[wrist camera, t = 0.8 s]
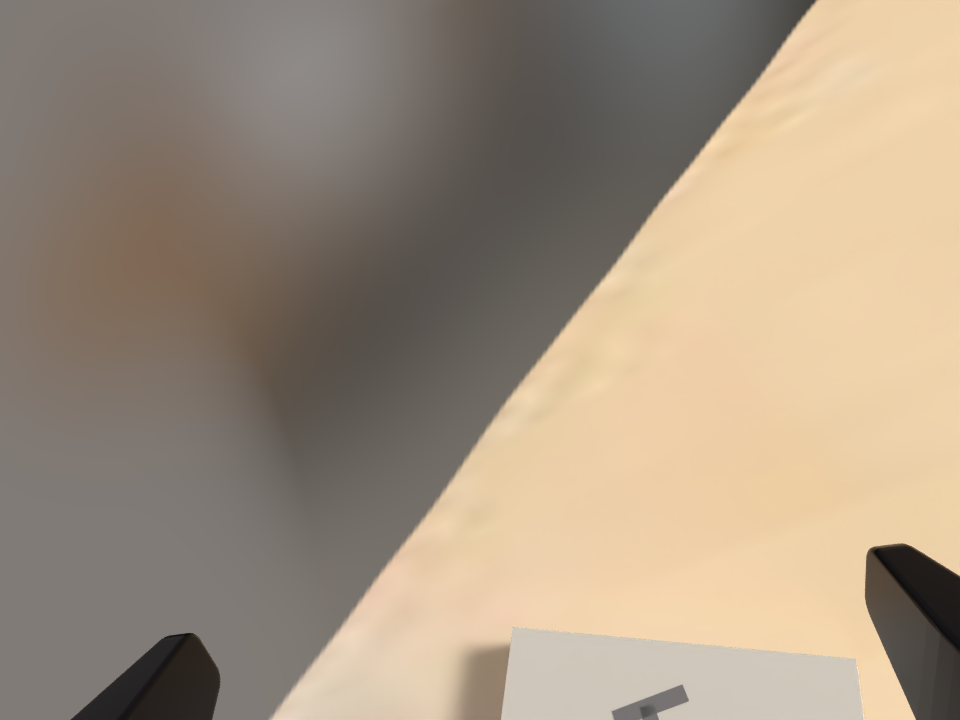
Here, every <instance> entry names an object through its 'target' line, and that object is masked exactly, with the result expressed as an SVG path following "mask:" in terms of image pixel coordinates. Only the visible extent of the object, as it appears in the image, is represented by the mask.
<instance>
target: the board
mask: <svg viewBox="0 0 960 720" xmlns="http://www.w3.org/2000/svg"><path fill="white" fill-rule="evenodd" d="M501 720H865V717H864V709H863V701H862V693H861V685H860V677H859V671H858V666H857V662H856V659H851V658H840V657H830V656H819V655H808V654H797V653H786V652H776V651H765V650H754V649H743V648H732V647H721V646H711V645H700V644H689V643H678V642H667V641H657V640H646V639H635V638H624V637H613V636H603V635H592V634H581V633H570V632H559V631H548V630H538V629H527V628H516V627H513V629H512V637H511V645H510V652H509V660H508V668H507V675H506V683H505V691H504V698H503V706H502V714H501Z"/></svg>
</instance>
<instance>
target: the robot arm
mask: <svg viewBox="0 0 960 720" xmlns="http://www.w3.org/2000/svg"><path fill="white" fill-rule="evenodd" d="M865 600H866V605H867V609H868V612H869V615H870V617H871V619H872V622H873V624H874V626H875V628H876V631H877V633H878V635H879V637H880V640H881V642H882V644H883V646H884V649H885V651H886V653H887V655H888V658H889V660H890V662H891V664H892V667H893V669H894V671H895V673H896V676H897V678H898V680H899V682H900V685H901V687H902V689H903V691H904V694H905V696H906V698H907V700H908V703H909V705H910V707H911V709H912V712H913V714H914V716H915V718H916V720H960V576H959V575H957V574H956V573H954V572H952V571H951V570H949V569H948V568H946V567H944V566H943V565H941V564H940V563H938V562H936V561H935V560H933V559H931V558H930V557H928V556H927V555H925V554H923V553H922V552H920V551H918V550H917V549H915V548H914V547H912V546H909V545H907V544H892V545H884V546H876V547H872V548H870V549H869V550H868V552H867V557H866V579H865ZM219 688H220V673H219V669H218V667H217V666H216V664H215V663H214V661H213V660H212V658H211V656H210V654H209V653H208V651H207V650H206V648H205V646H204V645H203V643H202V642H201V640H200V638H199V637H198V636H196V635H195V634H193V633H185V634H177V635H170V636H167V637H165V638H163V639H161V640H160V641H159V642H158V643H157V644H156V645H154V646H153V647H152V648H151V649H150V650H149V651H148V652H147V653H145V654H144V655H143V656H142V657H141V658H140V659H139V660H138V661H136V662H135V663H134V664H133V665H132V666H131V667H130V668H129V669H127V670H126V671H125V672H124V673H123V674H122V675H121V676H120V677H118V678H117V679H116V680H115V681H114V682H113V683H112V684H110V685H109V686H108V687H107V688H106V689H105V690H104V691H102V692H101V693H100V694H99V695H98V696H97V697H96V698H95V699H93V701H91V702H90V703H89V704H88V705H87V706H86V707H84V708H83V709H82V710H81V711H80V712H79V713H78V714H77V715H75V716H74V717H73V718H72V719H71V720H212V718H213V714H214V710H215V706H216V702H217V697H218V693H219Z"/></svg>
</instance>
